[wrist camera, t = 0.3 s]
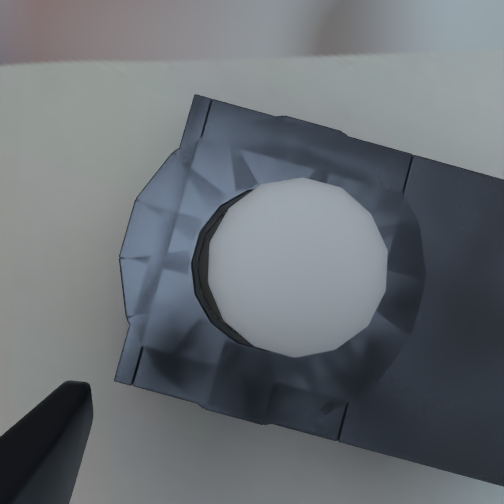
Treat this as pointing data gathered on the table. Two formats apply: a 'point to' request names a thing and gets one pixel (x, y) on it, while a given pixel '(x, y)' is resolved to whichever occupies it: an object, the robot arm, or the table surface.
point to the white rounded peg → (297, 267)
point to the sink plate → (362, 344)
